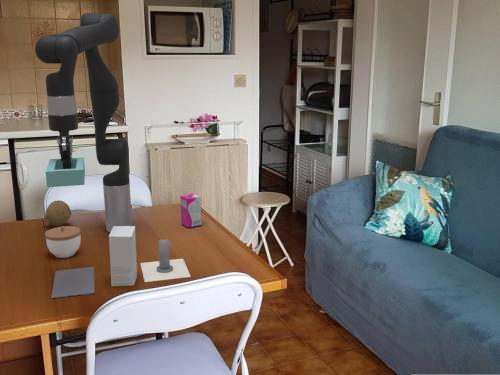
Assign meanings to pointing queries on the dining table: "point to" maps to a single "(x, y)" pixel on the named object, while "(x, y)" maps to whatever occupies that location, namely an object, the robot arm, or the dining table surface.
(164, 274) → the post stand
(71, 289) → the grey mat
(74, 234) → the lidded jar
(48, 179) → the teal link
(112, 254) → the skincare box
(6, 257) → the dining table surface
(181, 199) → the supplement box
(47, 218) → the natural sponge
